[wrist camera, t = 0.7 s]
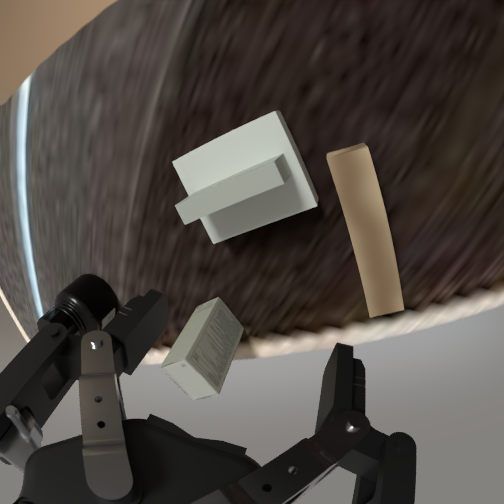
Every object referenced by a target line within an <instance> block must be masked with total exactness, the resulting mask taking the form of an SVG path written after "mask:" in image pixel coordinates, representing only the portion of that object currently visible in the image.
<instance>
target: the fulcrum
mask: <svg viewBox="0 0 504 504" xmlns="http://www.w3.org/2000/svg"><path fill="white" fill-rule="evenodd" d="M172 163H173V165H174V167H175V169H176V171H177V173H178V175H179V177H180V179H181V181H182V183H183V185H184V187H185V189H186V191H187V193H188V195H189V197H187V198H186V199H184V200H183V201H181V202H180V203H178V204H177V205H175V207H176V209H177V211H178V213H179V215H180V217H181V219H182V221H183V222H184V224H188V223H190V222H192V221H195V220H197V219H199V218H200V219H201V221H202V223H203V225H204V226H205V228H206V230H207V232H208V234H209V236H210V238H211V240H212V242H213V244H215V243H218V242H220V241H223V240H226V239H228V238H231V237H234V236H236V235H239V234H242V233H245V232H247V231H250V230H253V229H256V228H258V227H261V226H264V225H267V224H269V223H272V222H275V221H278V220H280V219H283V218H286V217H289V216H291V215H294V214H297V213H300V212H303V211H305V210H308V209H311V208H314V207H317V205H318V199H319V198H318V195H317V193H316V190H315V188H314V186H313V183H312V181H311V179H310V176H309V174H308V171H307V169H306V167H305V165H304V162H303V160H302V158H301V155H300V153H299V151H298V149H297V146H296V144H295V142H294V140H293V138H292V135H291V133H290V131H289V129H288V127H287V124H286V122H285V120H284V118H283V116H282V114H281V112H280V111H274V112H272V113H269V114H267V115H265V116H263V117H260V118H258V119H256V120H254V121H252V122H250V123H247V124H245V125H243V126H241V127H239V128H237V129H235V130H233V131H231V132H229V133H226V134H224V135H222V136H220V137H218V138H216V139H214V140H212V141H211V142H209V143H207V144H205V145H203V146H201V147H199V148H197V149H195V150H193V151H191V152H189V153H188V154H186V155H184V156H182V157H180V158H178V159H177V160H175V161H173V162H172Z"/></svg>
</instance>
